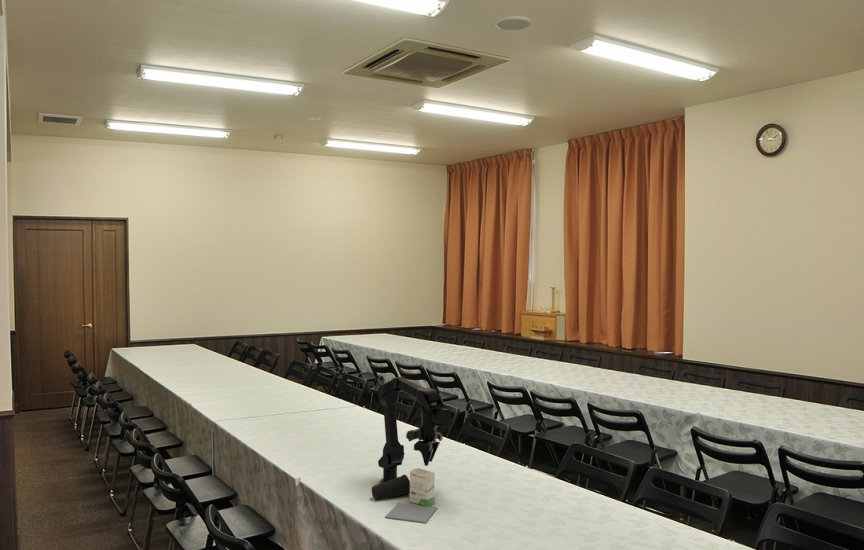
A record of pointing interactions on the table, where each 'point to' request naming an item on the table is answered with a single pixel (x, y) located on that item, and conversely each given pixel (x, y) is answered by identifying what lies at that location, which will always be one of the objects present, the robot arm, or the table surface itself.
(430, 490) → the ink box
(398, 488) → the drinking cup
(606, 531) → the table surface
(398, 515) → the felt mat
